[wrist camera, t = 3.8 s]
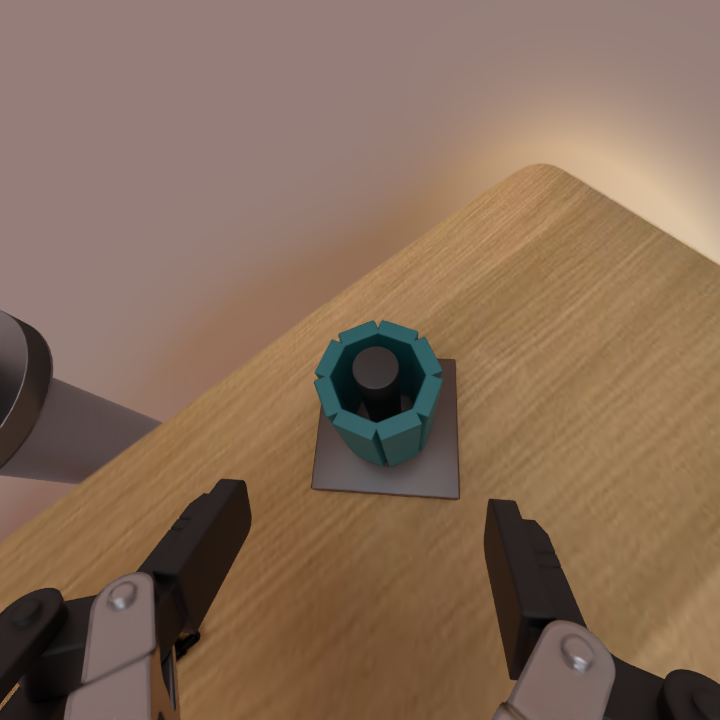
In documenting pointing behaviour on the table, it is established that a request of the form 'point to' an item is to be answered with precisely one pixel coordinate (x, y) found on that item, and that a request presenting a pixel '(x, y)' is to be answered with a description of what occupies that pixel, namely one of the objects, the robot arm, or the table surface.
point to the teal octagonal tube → (417, 381)
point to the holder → (381, 401)
